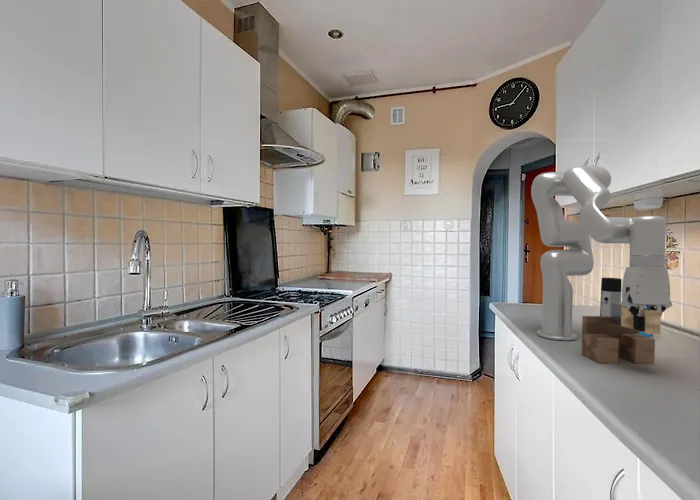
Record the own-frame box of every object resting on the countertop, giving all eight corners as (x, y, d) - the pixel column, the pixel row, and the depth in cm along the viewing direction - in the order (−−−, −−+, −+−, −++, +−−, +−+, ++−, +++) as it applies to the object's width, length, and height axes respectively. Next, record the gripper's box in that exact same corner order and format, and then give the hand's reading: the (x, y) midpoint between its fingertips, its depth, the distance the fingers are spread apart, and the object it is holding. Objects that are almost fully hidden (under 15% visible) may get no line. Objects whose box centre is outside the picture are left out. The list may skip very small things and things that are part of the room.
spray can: (600, 325, 153) (601, 276, 153) (620, 328, 149) (622, 278, 148) (598, 328, 148) (600, 278, 147) (619, 331, 144) (621, 279, 143)
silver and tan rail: (611, 322, 112) (611, 302, 112) (621, 322, 112) (621, 302, 112) (648, 334, 98) (649, 311, 98) (660, 334, 98) (660, 311, 98)
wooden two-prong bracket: (581, 354, 115) (582, 316, 115) (633, 354, 116) (634, 316, 115) (598, 363, 107) (600, 322, 107) (654, 363, 108) (655, 322, 107)
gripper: (665, 261, 104) (664, 327, 104) (606, 261, 104) (606, 327, 104) (690, 263, 97) (688, 333, 97) (627, 263, 96) (626, 333, 97)
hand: (645, 329), depth 101 cm, fingers closed on silver and tan rail, 3 cm apart
